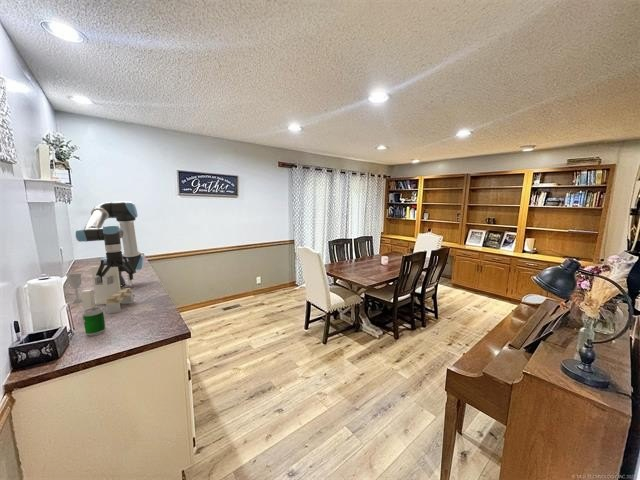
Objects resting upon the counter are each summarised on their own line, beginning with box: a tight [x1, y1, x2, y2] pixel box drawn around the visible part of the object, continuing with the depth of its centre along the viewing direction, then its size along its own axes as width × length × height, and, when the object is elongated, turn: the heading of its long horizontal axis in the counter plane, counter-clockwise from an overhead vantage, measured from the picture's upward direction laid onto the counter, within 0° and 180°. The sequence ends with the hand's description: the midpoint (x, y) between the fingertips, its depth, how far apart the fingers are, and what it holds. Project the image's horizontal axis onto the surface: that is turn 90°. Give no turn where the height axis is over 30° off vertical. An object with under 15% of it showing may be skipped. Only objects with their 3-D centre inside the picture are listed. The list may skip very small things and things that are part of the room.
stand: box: [105, 293, 135, 314], centre depth 161 cm, size 18×6×5 cm, turn 10°
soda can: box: [82, 306, 106, 337], centre depth 129 cm, size 8×8×12 cm
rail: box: [106, 287, 132, 305], centre depth 161 cm, size 18×4×4 cm, turn 10°
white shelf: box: [80, 265, 122, 313], centre depth 159 cm, size 20×14×24 cm
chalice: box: [66, 272, 83, 304], centre depth 170 cm, size 7×7×18 cm
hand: (118, 285), depth 160 cm, fingers open, 13 cm apart
